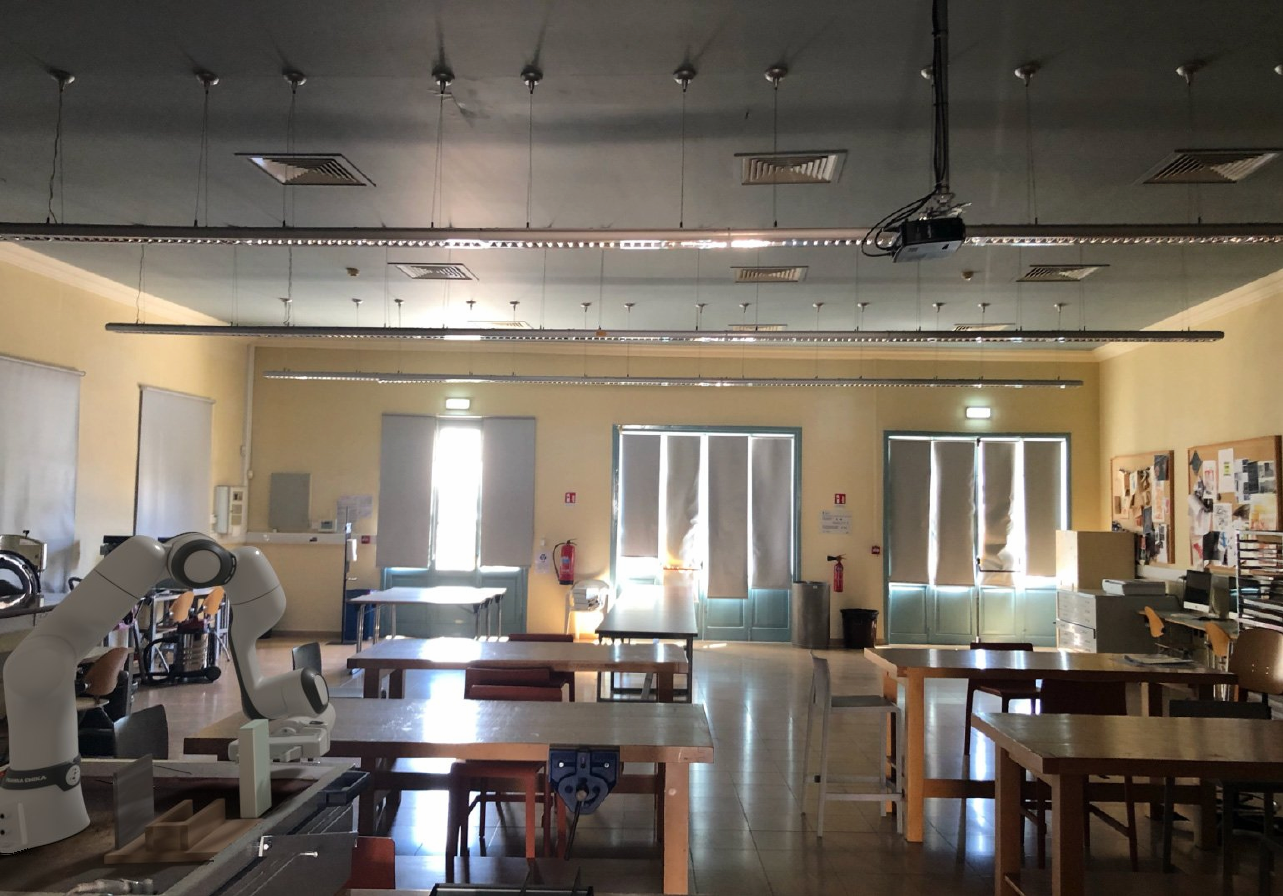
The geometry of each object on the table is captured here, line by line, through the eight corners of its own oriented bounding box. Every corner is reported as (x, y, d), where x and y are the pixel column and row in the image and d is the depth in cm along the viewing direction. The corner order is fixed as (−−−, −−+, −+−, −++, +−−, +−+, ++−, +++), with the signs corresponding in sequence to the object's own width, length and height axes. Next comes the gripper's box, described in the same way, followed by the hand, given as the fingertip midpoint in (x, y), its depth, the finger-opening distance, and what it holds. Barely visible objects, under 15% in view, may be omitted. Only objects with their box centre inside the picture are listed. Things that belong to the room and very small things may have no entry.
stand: (104, 863, 147) (101, 776, 147) (154, 829, 161) (151, 750, 161) (223, 860, 146) (220, 772, 146) (263, 826, 160) (260, 746, 160)
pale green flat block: (240, 819, 164) (237, 729, 164) (257, 806, 170) (254, 719, 171) (255, 818, 164) (252, 728, 164) (271, 806, 170) (268, 718, 170)
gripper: (246, 725, 184) (211, 745, 170) (335, 722, 183) (307, 742, 170) (247, 753, 184) (212, 775, 170) (336, 750, 183) (308, 772, 169)
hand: (261, 759), depth 170 cm, fingers open, 8 cm apart
